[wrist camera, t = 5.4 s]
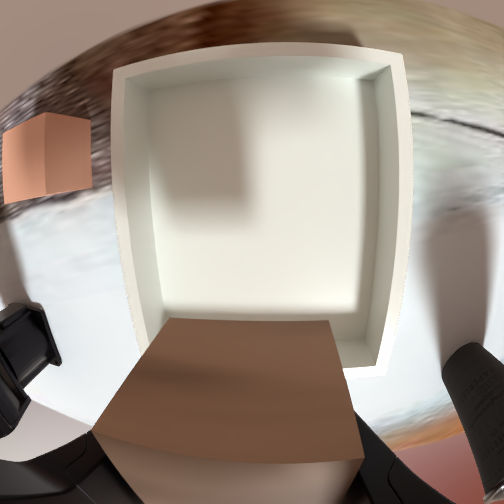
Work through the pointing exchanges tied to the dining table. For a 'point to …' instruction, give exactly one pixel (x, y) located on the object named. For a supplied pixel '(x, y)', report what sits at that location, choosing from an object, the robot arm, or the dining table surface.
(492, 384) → the drinking cup
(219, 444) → the walnut block
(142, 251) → the tray
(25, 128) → the terracotta block
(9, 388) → the robot arm
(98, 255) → the dining table surface
